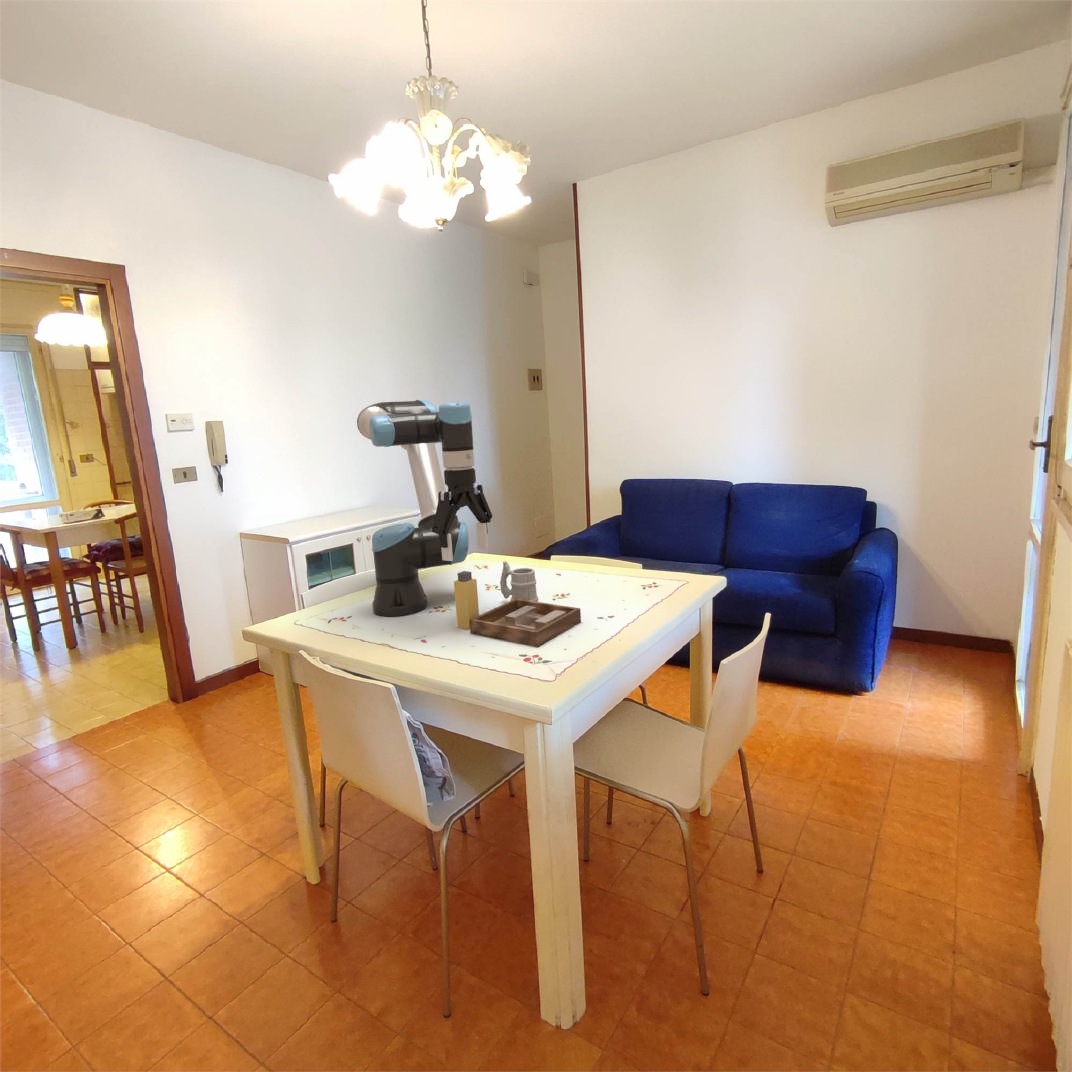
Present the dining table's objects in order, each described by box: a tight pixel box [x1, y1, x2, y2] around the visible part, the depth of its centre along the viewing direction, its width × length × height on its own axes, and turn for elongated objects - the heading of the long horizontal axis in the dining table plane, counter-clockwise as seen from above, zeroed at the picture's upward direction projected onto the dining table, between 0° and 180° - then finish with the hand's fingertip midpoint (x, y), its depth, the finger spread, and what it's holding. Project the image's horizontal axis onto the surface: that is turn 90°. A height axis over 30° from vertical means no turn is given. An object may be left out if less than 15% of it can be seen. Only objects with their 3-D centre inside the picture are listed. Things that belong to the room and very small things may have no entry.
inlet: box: [505, 605, 566, 630], centre depth 152 cm, size 12×9×3 cm
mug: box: [499, 560, 539, 602], centre depth 172 cm, size 8×12×12 cm, turn 55°
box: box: [469, 599, 582, 648], centre depth 153 cm, size 20×19×4 cm
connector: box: [453, 570, 480, 631], centre depth 156 cm, size 4×4×14 cm
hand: (465, 554), depth 154 cm, fingers open, 13 cm apart
